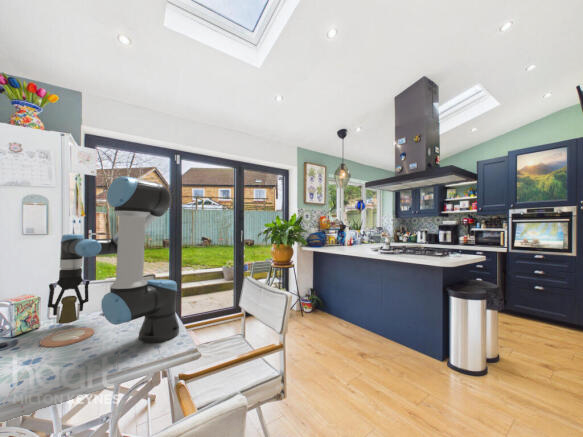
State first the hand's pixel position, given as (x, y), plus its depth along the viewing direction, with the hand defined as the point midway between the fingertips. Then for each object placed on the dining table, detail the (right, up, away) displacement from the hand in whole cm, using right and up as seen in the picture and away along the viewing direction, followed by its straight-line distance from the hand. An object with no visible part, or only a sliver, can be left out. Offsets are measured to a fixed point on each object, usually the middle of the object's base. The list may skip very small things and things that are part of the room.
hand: (68, 320), depth 107 cm
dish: (+9, -3, -10) cm, 14 cm away
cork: (0, 0, 0) cm, 1 cm away
